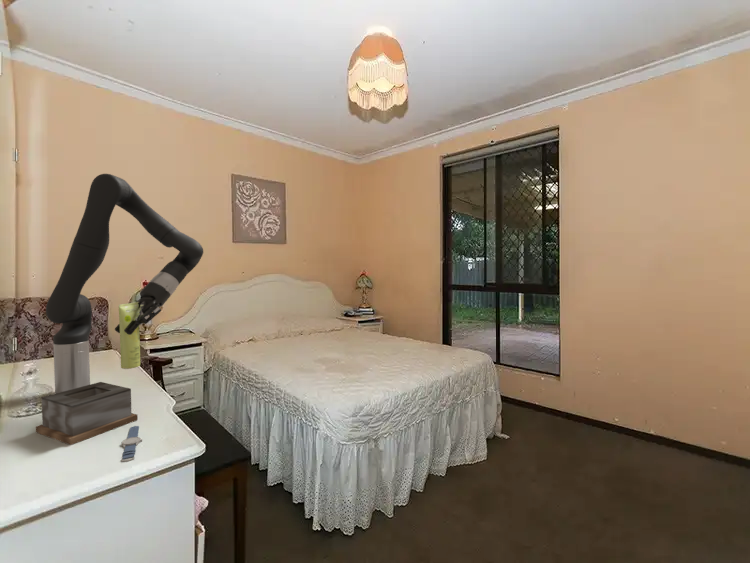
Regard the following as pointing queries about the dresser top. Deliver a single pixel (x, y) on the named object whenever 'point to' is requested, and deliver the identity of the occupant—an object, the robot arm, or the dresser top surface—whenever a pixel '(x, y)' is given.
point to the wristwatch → (130, 444)
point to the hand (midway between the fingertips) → (122, 332)
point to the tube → (129, 337)
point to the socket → (85, 412)
